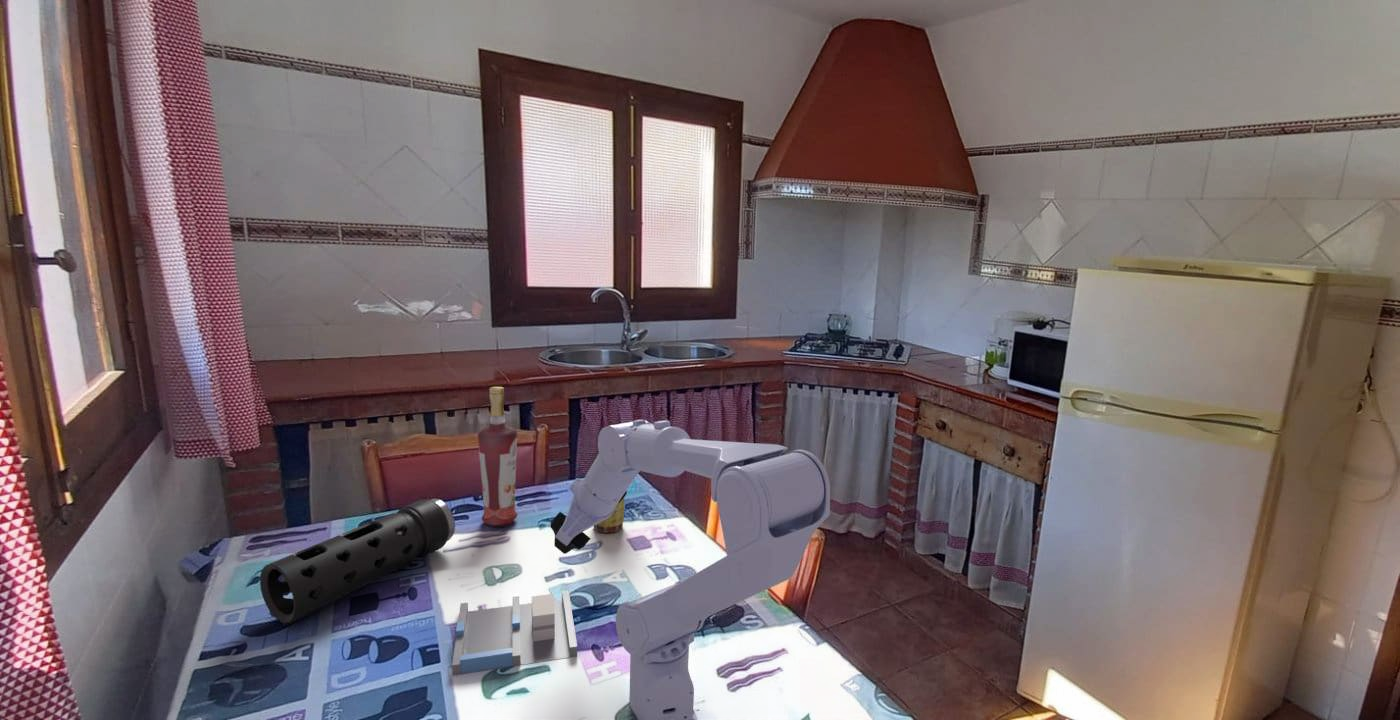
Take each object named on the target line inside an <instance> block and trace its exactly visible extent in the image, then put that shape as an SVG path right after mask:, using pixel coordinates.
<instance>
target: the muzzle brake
mask: <svg viewBox="0 0 1400 720" xmlns="http://www.w3.org/2000/svg"><path fill="white" fill-rule="evenodd" d="M455 530H456V522H455V518H454V514H453V512H452V510H451V508H450V507H449V506H448V505H447V503H445V502H444V501H443V500H442V499H439V498H432V499H427V498H426V499H425V498H424V499H419V500H417V501H415V502H412V503H410V504H407V505H405V506H402V507H401V508H400V509H398V510H397V511H396V513H395V512H394V513H393V512H392V513H390V514H387V515H385V516H382V517H380V518H377V519H375V520H373V521H369V522H368V523H365V524H362V525H360V526H358V527H356V528H355V527H354V528H353V529H351V530H348V531H346V532H344V533H341V534H337V535H336V536H334V537H331V538H329V539H326V540H324V541H321V542H319V543H316V544H314V545H312V546H309V547H307V548H304V549H302V550H299V551H297V552H295V553H292V554H290V555H287V556H285V557H282V558H280V559H278V560H275V561H273V562H270V563H268V564H265V565H264V566H263V567H262V568H261V569H262V570H261V572H260V576H259V584H260V590H261V591H260V592H261V596H262V598H263V602H264V603H265V605H266V607H267V609H268V611H269V612H270V613H271V614H272V616H273V617H274V618H275V619H276V620H278V621H279V622H280V623H282V625H285V626H290V625H291V624H294V623H296V622H298V621H300V620H302V619H304V618H306V617H307V616H310V615H312V614H313V613H315V612H317V611H318V612H319V610H322V609H324V608H325V607H328V606H330V605H331V604H334V603H335V602H338V601H340V600H341V599H343V598H345V597H347V596H348V595H349V594H350V593H353V592H354V591H356V590H361V589H364V587H365V586H366V585H368V584H369V583H372V582H373V581H375V580H377V579H380V578H382V577H385V576H386V575H387V574H390V573H392V572H393V571H394V572H400V571H401V570H403V569H405V568H408V567H409V566H411V565H413V564H414V563H415V560H416V559H419V558H420V559H422V558H425V557H427V556H428V555H431V554H433V553H435V552H436V551H439V550H441V549H442V548H444V546H445V545H446V543H447V542H448V541H450V540H451V539H452V538H453V536H454V534H455ZM281 576H283V577H284V578H283V580H279V578H280V577H281ZM289 594H291V596H292V598H286V597H284V596H289Z"/></svg>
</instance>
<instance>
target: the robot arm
mask: <svg viewBox="0 0 1400 720" xmlns="http://www.w3.org/2000/svg"><path fill="white" fill-rule="evenodd" d="M597 438H598V439H597V449H598V450H597V451H598V454H597V455H596V458H595V460H594V461H593V463H592V465H591V466H590V467H589V470H588V471H587V473H586V475H585V477H584V478H583V480H582V479H581V478H579V477H577V478H575V480H573V482H572V483H571V484H570V485H569V490H570V491H571V492H572V493H573V496H572V499H571V502H570V505H569V507H568V510H567V512H566V515H565V514H564V513H563V512H562V511H559V512H558V513H557V514H556V515H555V517H554V518H553V519H552V520H551V523H550V525H549V526H550V528H551V530H552V533H553V534H554V544H553V545H554V547H555V548H556V549H558V550H559V552H561V553H562V554H564V555H565V554H568V553H570V552H571V551H572V550H574V549H575V550H579V551H580V550H581V549H584V547H585V546H587V544H588V543H589V542H590V541H591V537H590V536H588V534H586V533H585V531H587V530H589V529H590V528H593V527H594V525H596V524H598V523H600V522H602V521H604V520H606V519H607V518H609V517H610V516H611V515H612V513H613V512H614V510H615V508H616V505H617V504H618V503H620V502H621V501H622V499H623V498H624V497H626V495H627V492H628V491H627V490H628V489H629V488H630V486H631V484H632V483H633V482H634V480H635V479H636V477H637V476H638V474H639V473H640V472H643V473H648V474H652V475H657V476H661V477H666V478H675V477H679V476H680V475H681V474H683V473H684V472H689V473H692V474H696V475H698V476H701V477H702V476H703V477H704V478H705V477H706V478H709V479H711V482H710V494H711V499H712V501H713V502H714V503H716V505H717V509H718V515H719V520H720V526H721V530H722V535H723V542H724V546H725V550H726V555H725V556H723V557H722V558H720V559H719V560H717V561H715V562H713V563H711V564H709V566H707V567H704V568H703V569H701V570H700V571H698V572H696V573H693V574H692V575H691V576H689V577H688V578H686V579H681V580H678V581H676V582H675V583H674V584H672V585H669V586H667V587H664V588H662V589H659V590H657V591H655V592H651V593H649V594H645V595H644V596H641V597H638V598H637V599H634V600H633V599H632V600H631V601H625V602H622V603H621V604H620V605H619V606H618V608H617V611H616V615H615V628H616V629H615V630H616V633H617V636H618V638H619V639H618V640H619V642H620V645H621V646H622V647H623V649H624V650H625V651H626V652H627V653H628V654H629V655H630V656H629V657H630V658H629V659H630V663H629V699H628V700H629V706H630V709H631V710H632V712H633V714H635V716H636V718H637V719H635V720H698V718H697V716H696V713H695V711H694V704H695V703H694V699H695V688H694V683H693V680H692V678H691V675H690V671H689V656H690V655H689V653H690V645H691V644H692V643H693V642H694V641H695V633H696V632H697V631H700V630H701V629H702V627H704V624H705V621H706V619H707V618H709V617H710V616H712V615H715V614H716V613H719V612H721V611H723V610H726V609H727V608H730V607H732V606H734V605H736V604H738V603H740V602H743V601H745V600H748V599H749V598H752V597H754V596H756V595H757V594H758V595H759V594H760V593H762V592H765V591H766V590H768V589H771V588H773V587H775V586H778V585H779V584H783V583H784V582H786V581H788V580H790V579H791V578H792V577H793V576H794V575H795V574H796V572H797V568H798V567H799V565H800V563H801V560H802V559H803V556H804V554H805V552H806V550H807V548H808V546H809V543H810V541H811V539H812V537H813V535H814V533H815V532H816V531H817V530H818V528H819V527H820V526H821V525H822V524H823V523H824V522H825V521H826V519H827V518H828V517H829V516H830V515H831V482H830V479H829V474H828V472H827V469H826V468H825V466H824V464H823V462H822V461H821V460H820V459H819V458H818V457H817V456H816V455H815V454H814V453H812V452H810V451H808V450H805V449H794V450H792V451H789V452H787V453H786V454H783V453H784V452H785V451H787V450H788V449H789V448H788V447H787V446H783V445H780V444H772V443H758V442H757V443H753V442H739V441H738V442H737V441H726V440H725V441H724V440H708V439H707V440H706V439H691V437H690V436H689V433H687V432H686V431H685V429H682V428H681V427H677V426H671V421H670V420H658V421H654V422H653V423H651V422H649V421H647V420H645V419H636V420H633V421H629V422H622V423H617V424H610V425H607V426H604V427H602V428H601V430H600V431H599V433H598V437H597ZM782 454H783V455H782ZM624 499H625V498H624Z"/></svg>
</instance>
